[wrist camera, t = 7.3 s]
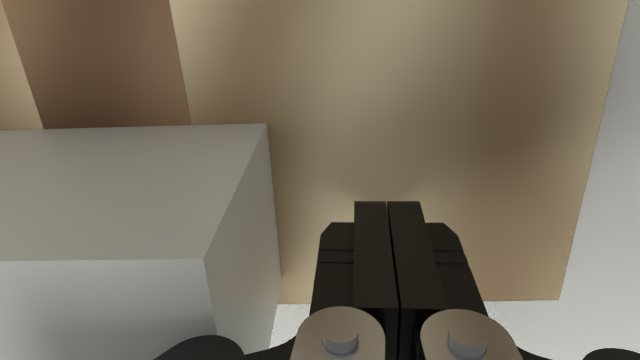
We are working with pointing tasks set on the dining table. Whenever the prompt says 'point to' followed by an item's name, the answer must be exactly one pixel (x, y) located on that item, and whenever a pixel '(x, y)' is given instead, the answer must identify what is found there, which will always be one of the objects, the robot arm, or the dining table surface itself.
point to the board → (351, 107)
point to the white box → (135, 240)
